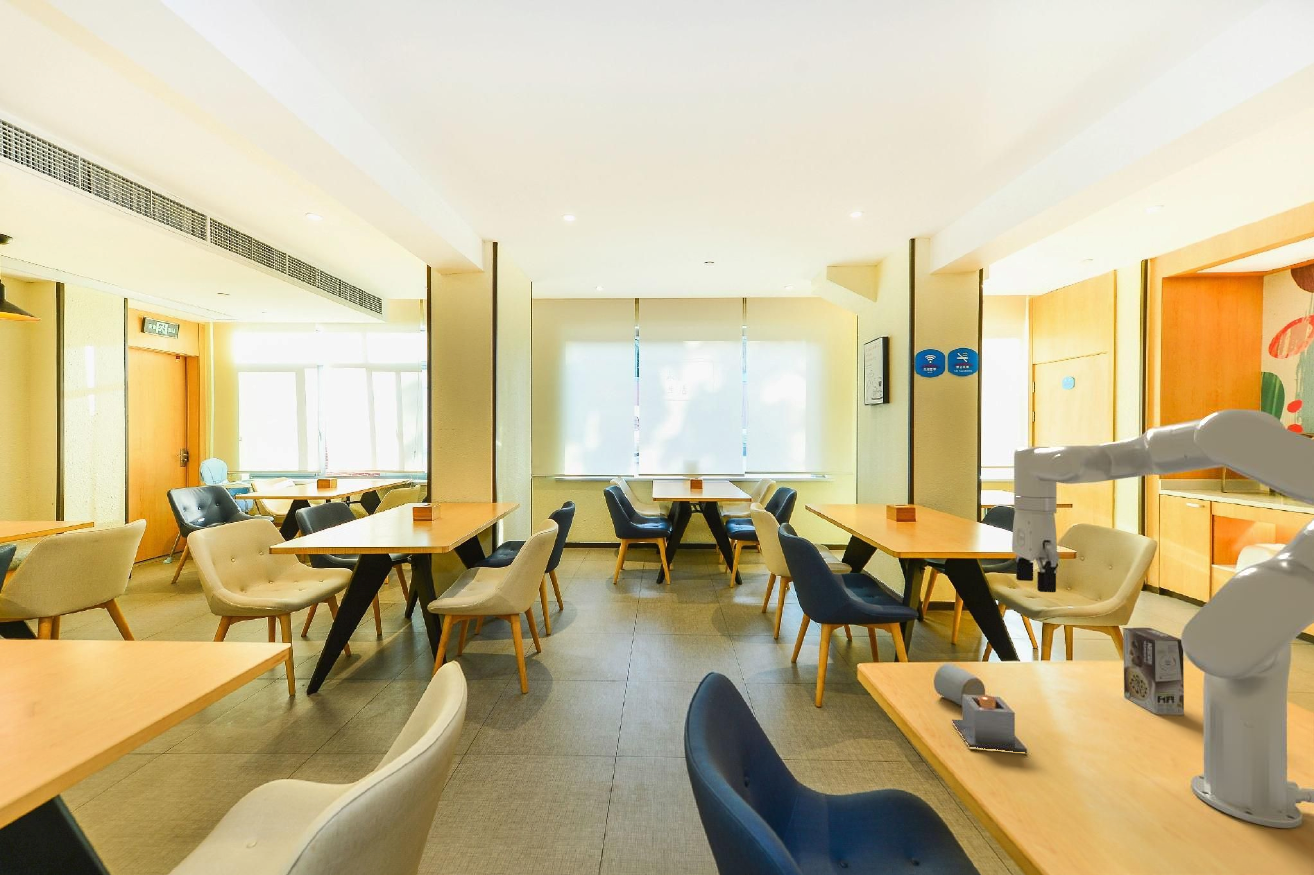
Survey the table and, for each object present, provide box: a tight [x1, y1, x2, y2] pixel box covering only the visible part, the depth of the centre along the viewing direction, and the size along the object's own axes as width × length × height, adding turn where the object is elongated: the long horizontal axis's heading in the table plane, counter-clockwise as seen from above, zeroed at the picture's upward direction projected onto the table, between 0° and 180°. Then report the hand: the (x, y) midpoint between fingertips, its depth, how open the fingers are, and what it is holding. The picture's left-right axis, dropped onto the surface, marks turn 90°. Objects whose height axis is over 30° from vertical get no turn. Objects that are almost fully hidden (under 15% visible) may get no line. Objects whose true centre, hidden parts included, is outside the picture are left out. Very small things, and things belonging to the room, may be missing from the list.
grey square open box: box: [961, 694, 1016, 744], centre depth 114 cm, size 7×7×6 cm
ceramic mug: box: [933, 662, 988, 707], centre depth 130 cm, size 11×8×8 cm
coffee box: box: [1122, 627, 1185, 716], centre depth 129 cm, size 9×6×16 cm
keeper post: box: [951, 694, 1028, 754], centre depth 114 cm, size 10×10×8 cm
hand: (1035, 585), depth 122 cm, fingers open, 9 cm apart
